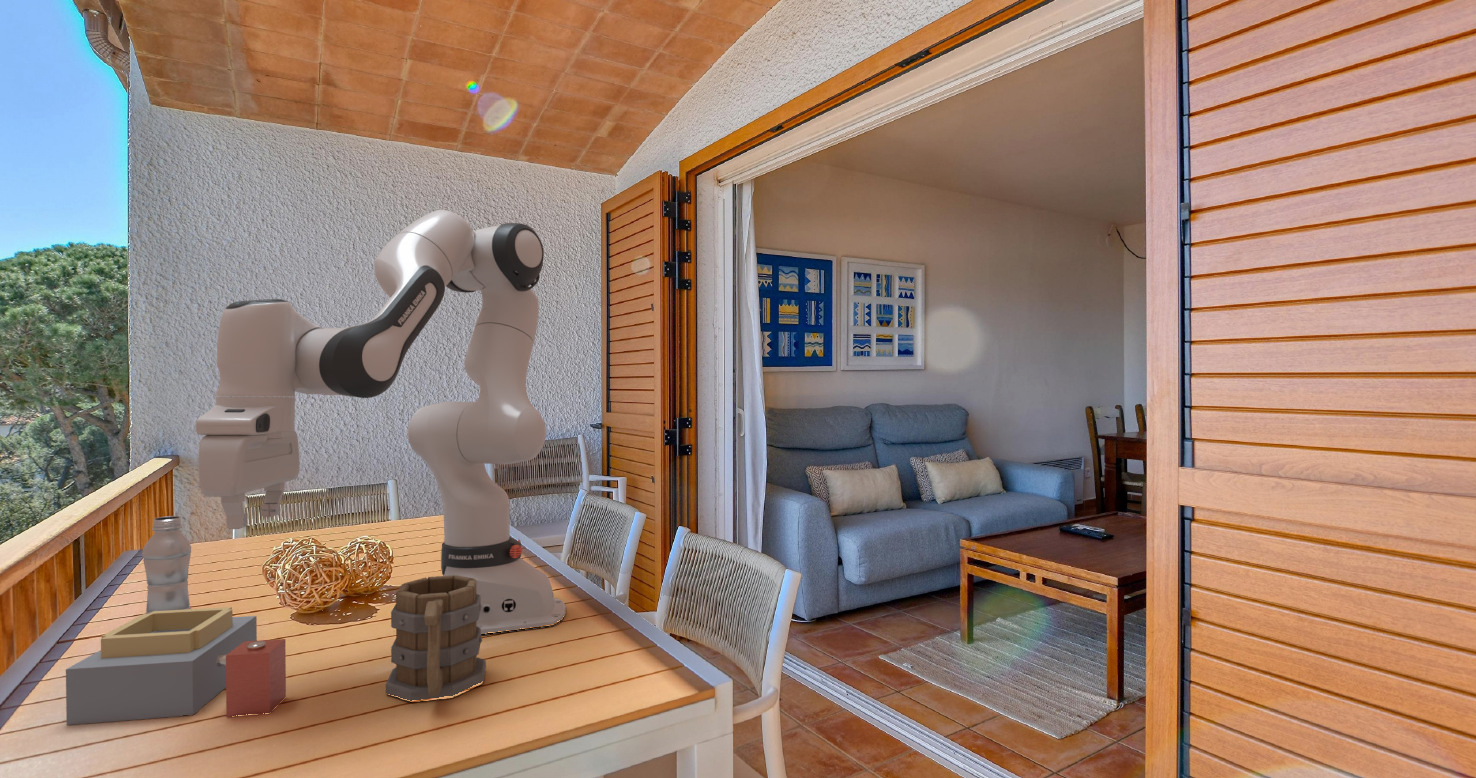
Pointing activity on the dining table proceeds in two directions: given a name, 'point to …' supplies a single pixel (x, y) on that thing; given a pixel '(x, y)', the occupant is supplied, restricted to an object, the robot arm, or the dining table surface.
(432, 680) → the tankard
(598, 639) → the dining table surface
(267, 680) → the red rectangular block
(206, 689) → the grey box
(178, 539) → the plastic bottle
